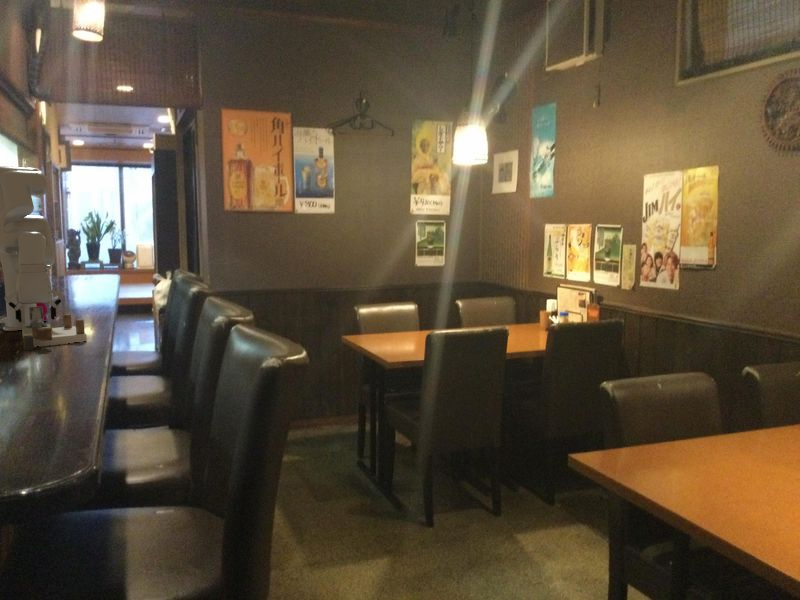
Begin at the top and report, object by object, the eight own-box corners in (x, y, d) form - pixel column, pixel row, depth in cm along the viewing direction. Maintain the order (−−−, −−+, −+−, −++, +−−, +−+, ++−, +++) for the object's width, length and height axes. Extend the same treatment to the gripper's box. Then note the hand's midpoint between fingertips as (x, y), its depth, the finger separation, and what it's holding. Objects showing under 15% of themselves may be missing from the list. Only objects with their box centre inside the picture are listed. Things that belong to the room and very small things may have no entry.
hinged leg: (41, 336, 201) (40, 324, 201) (52, 340, 195) (51, 327, 194) (33, 337, 200) (32, 325, 199) (43, 341, 193) (42, 328, 193)
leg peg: (27, 331, 213) (25, 307, 212) (36, 329, 217) (34, 306, 216) (38, 332, 212) (36, 308, 211) (47, 330, 216) (45, 306, 215)
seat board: (16, 338, 215) (15, 317, 214) (75, 333, 225) (73, 313, 224) (25, 350, 192) (23, 327, 191) (90, 344, 203) (88, 322, 202)
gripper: (60, 267, 220) (63, 317, 222) (1, 270, 210) (5, 321, 212) (63, 268, 214) (67, 319, 216) (3, 271, 204) (7, 324, 206)
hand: (36, 320), depth 214 cm, fingers open, 9 cm apart
